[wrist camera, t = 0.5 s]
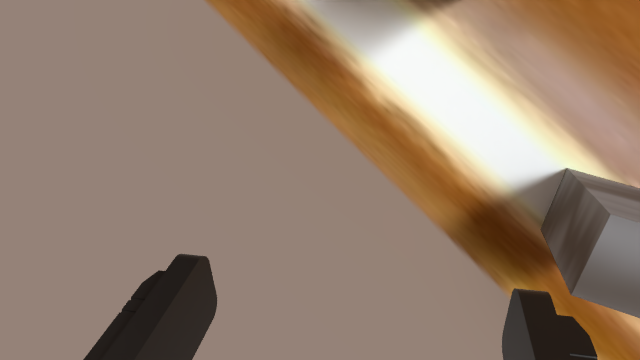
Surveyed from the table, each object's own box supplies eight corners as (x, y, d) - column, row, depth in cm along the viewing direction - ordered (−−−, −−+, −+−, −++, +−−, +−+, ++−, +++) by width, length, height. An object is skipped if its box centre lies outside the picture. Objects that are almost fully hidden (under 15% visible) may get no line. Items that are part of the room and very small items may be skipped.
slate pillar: (567, 168, 32) (610, 214, 23) (641, 189, 31) (718, 246, 22) (540, 229, 34) (571, 294, 25) (610, 251, 33) (669, 328, 24)
